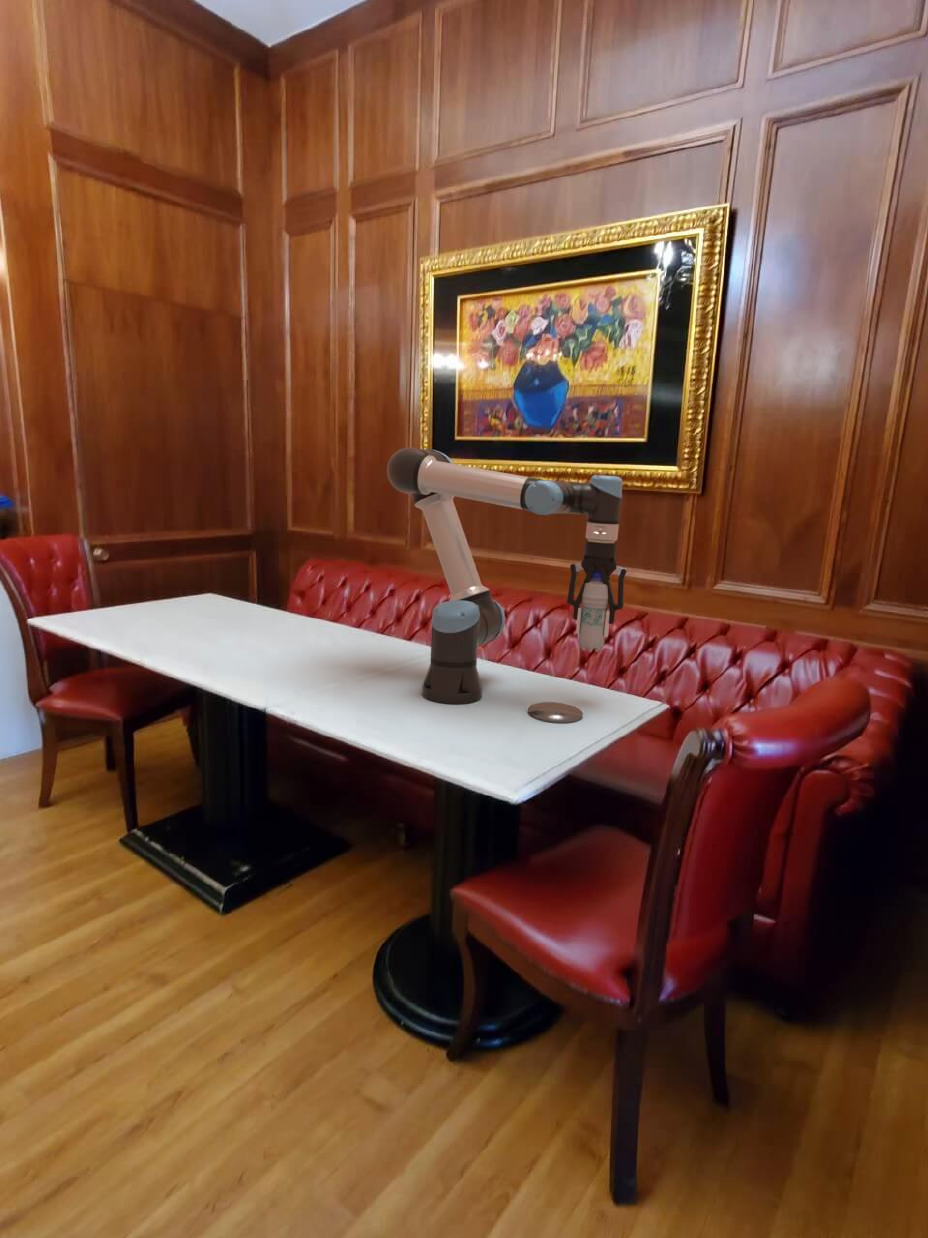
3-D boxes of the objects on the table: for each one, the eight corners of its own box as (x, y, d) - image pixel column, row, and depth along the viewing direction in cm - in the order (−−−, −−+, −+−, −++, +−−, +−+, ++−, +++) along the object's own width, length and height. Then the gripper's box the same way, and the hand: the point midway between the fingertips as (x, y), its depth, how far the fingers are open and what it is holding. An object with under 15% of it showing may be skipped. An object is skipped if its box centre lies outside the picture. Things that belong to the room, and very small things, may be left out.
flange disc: (522, 718, 163) (522, 715, 162) (534, 702, 175) (534, 699, 175) (577, 726, 159) (578, 723, 159) (586, 709, 171) (586, 706, 171)
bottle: (604, 654, 170) (612, 572, 166) (576, 651, 171) (583, 570, 167) (604, 648, 176) (612, 569, 172) (577, 645, 178) (584, 567, 174)
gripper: (559, 538, 168) (551, 632, 172) (640, 545, 162) (630, 642, 167) (564, 536, 175) (556, 627, 179) (642, 543, 169) (632, 636, 174)
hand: (592, 634), depth 173 cm, fingers closed on bottle, 6 cm apart
